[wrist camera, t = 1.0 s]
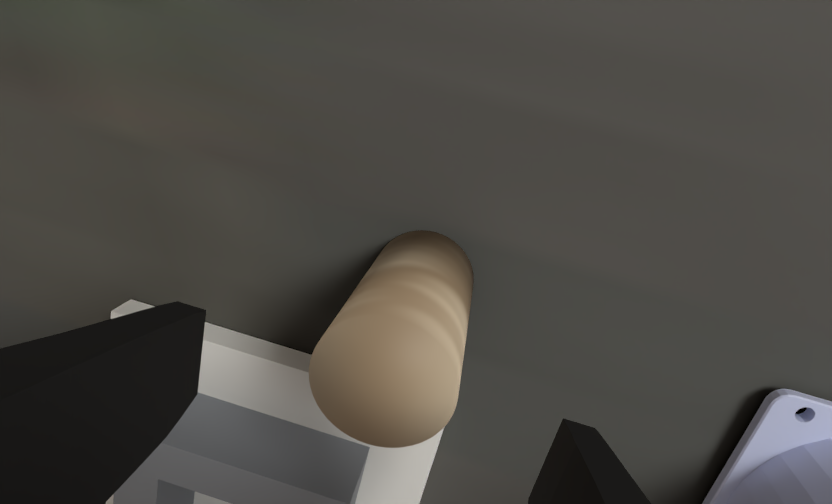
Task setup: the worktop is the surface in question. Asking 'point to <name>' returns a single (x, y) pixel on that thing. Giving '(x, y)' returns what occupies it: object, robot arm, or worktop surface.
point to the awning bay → (267, 438)
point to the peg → (397, 344)
